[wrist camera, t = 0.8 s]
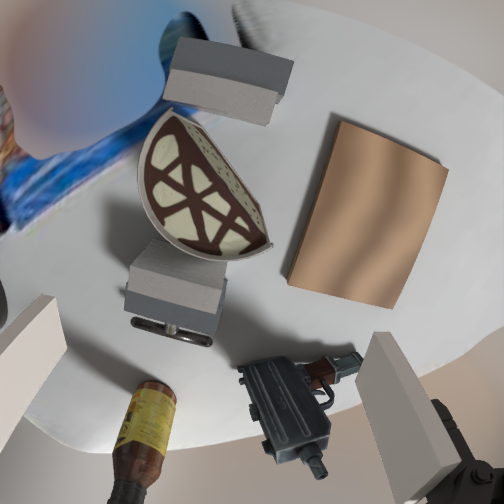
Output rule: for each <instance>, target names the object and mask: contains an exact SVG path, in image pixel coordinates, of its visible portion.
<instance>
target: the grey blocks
mask: <svg viewBox="0 0 504 504" xmlns="http://www.w3.org/2000/svg"><path fill="white" fill-rule="evenodd" d="M293 64H294V61H292V60H288V59H285V58H282V57H278V56H274V55H271V54H267V53H263V52H259V51H255V50H251V49H247V48H242V47H237V46H232V45H228V44H223V43H218V42H212V41H207V40H201V39H194V38H187V37H179V40H178V43H177V45H176V48H175V51H174V54H173V57H172V61H171V64H170V67H169V71H170V74H169V78H168V81H167V84H166V88H165V91H164V95H163V98H162V99H164V100H167V101H169V102H172V103H174V104H177V105H179V106H182V107H186V108H191V109H195V110H200V111H205V112H209V113H214V114H218V115H222V116H227V117H231V118H235V119H239V120H243V121H246V122H250V123H254V124H258V125H261V126H266V125H267V124H269V122H270V118H271V115H272V112H273V108H274V105H275V104H278V103H279V102H280V100H281V99H282V98H283V96H284V94H285V90H286V87H287V84H288V80H289V77H290V74H291V70H292V67H293ZM227 262H228V261H224V262H222V261H212V260H206V259H202V258H198V257H195V256H193V255H190V254H188V253H185V252H184V251H182V250H180V249H179V248H177V247H175V246H174V245H172V244H171V243H168V242H164V241H160V240H156V239H153V240H152V241H151V242H150V243H149V244H148V246H147V247H146V248H145V249H144V250H143V251H142V252H141V254H140V255H139V256H138V257H137V258H136V259H135V260H134V262H133V263H132V264H131V265H130V270H129V279H128V282H127V283H126V291H125V303H124V310H125V311H128V312H131V313H134V314H137V315H141V316H144V317H147V318H151V319H154V320H158V321H161V322H165V325H163V324H160V323H156V322H153V321H150V320H146V319H143V318H139V317H133V318H132V319H131V321H130V322H131V325H132V326H133V327H135V328H138V329H142V330H145V331H148V332H152V333H155V334H158V335H162V336H165V337H169V338H173V339H176V340H180V341H184V342H188V343H191V344H195V345H199V346H203V347H210V346H211V345H212V343H213V341H212V339H211V338H210V337H209V336H205V335H201V334H197V333H193V332H189V331H185V330H182V329H179V327H183V328H187V329H191V330H194V331H198V332H202V333H206V334H210V335H214V336H215V335H216V331H217V327H218V324H219V320H220V316H221V313H222V309H223V303H224V297H225V290H226V284H227V280H225V279H224V277H225V272H226V267H227Z"/></svg>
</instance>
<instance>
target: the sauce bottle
mask: <svg viewBox="0 0 504 504" xmlns="http://www.w3.org/2000/svg"><path fill="white" fill-rule="evenodd" d="M176 402H177V399H176V396H175V394H174V393H173V392H172V390H171V389H170V388H168V387H167V386H165V385H163V384H160V383H157V382H152V381H147V382H143V383H141V384H140V385H139V386H138V388H137V389H136V391H135V392H134V394H133V396H132V399H131V402H130V404H129V407H128V410H127V413H126V415H125V418H124V421H123V424H122V426H121V429H120V432H119V435H118V438H117V441H116V444H115V447H114V450H113V453H112V457H113V468H114V479H115V481H114V486H113V490H112V493H111V497H110V499H108V501H107V504H144V499H145V495H146V494H147V491H146V489H147V488H148V487H149V486H150V485H152V484H153V483H154V482H155V481H156V480H157V479H158V478H159V476H160V473H161V468H162V463H163V461H164V458H165V454H166V449H167V445H168V440H169V436H170V431H171V427H172V423H173V418H174V414H175V410H176V408H175V405H176Z"/></svg>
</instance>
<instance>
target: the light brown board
mask: <svg viewBox="0 0 504 504" xmlns="http://www.w3.org/2000/svg"><path fill="white" fill-rule="evenodd" d="M448 171H449V169H447V168H445V167H443V166H442V165H440V164H438V163H436V162H434V161H432V160H430V159H428V158H426V157H424V156H422V155H420V154H418V153H416V152H414V151H412V150H410V149H408V148H405V147H403V146H401V145H399V144H397V143H395V142H392V141H390V140H388V139H386V138H383V137H381V136H379V135H376V134H374V133H372V132H369V131H367V130H364V129H362V128H359V127H357V126H354V125H352V124H349V123H346V122H344V121H339V122H338V125H337V128H336V132H335V135H334V138H333V142H332V145H331V148H330V151H329V155H328V158H327V161H326V164H325V167H324V171H323V174H322V177H321V180H320V183H319V186H318V189H317V192H316V195H315V198H314V202H313V205H312V208H311V211H310V214H309V217H308V220H307V223H306V226H305V228H304V231H303V234H302V237H301V240H300V243H299V246H298V249H297V252H296V255H295V258H294V260H293V263H292V266H291V269H290V272H289V275H288V277H287V284H288V285H290V286H294V287H298V288H303V289H307V290H311V291H315V292H319V293H323V294H328V295H332V296H336V297H340V298H344V299H349V300H353V301H357V302H362V303H366V304H370V305H375V306H379V307H383V308H388V309H392V310H393V308H394V306H395V304H396V302H397V300H398V298H399V296H400V293H401V291H402V289H403V287H404V285H405V283H406V281H407V279H408V276H409V274H410V272H411V270H412V268H413V265H414V263H415V261H416V258H417V256H418V254H419V251H420V249H421V246H422V244H423V242H424V239H425V237H426V234H427V232H428V229H429V226H430V224H431V221H432V218H433V216H434V213H435V210H436V207H437V205H438V202H439V199H440V196H441V193H442V190H443V187H444V184H445V181H446V178H447V174H448Z"/></svg>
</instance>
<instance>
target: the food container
mask: <svg viewBox="0 0 504 504" xmlns="http://www.w3.org/2000/svg"><path fill="white" fill-rule="evenodd" d="M173 109H174V108H173V107H171V108H169V109H168V110H167V111H166V112H165V113H164V114H163V115H162V116H161V117H160V118H159V119H158V120H157V122H156V123H155V124H154V125H153V127H152V128H151V130H150V132H149V133H148V135H147V137H146V139H145V141H144V144H143V146H142V149H141V152H140V156H139V161H138V169H137V182H138V190H139V195H140V198H141V202H142V205H143V207H144V210H145V212H146V214H147V216H148V218H149V219H150V221H151V222H152V224H153V225H154V227H155V228H156V229H157V230H158V232H159V233H160V234H161V235H162V236H163V237H164V238H165V239H166V240H168V241H169V242H170V243H171V244H172V245H174V246H175V247H177V248H179V249H180V250H182V251H184V252H185V253H188V254H190V255H193V256H195V257H198V258H202V259H206V260H212V261H222V262H224V261H238V260H243V259H248V258H251V257H254V256H257V255H259V254H262V253H264V252H266V251H267V250H269V249H271V248H273V245H274V244H273V242H272V243H270V240H269V237H268V233H267V229H266V226H265V222H264V218H263V215H262V211H261V208H260V204H259V203H258V202H257V200H256V199H255V197H254V196H253V195H252V193H251V192H250V190H249V189H248V188H247V186H246V185H245V184H244V182H243V181H242V179H241V178H240V177H239V175H238V174H237V172H236V171H235V170H234V168H233V167H232V166H231V164H230V163H229V162H228V160H227V159H226V157H225V156H224V155H223V153H222V152H221V151H220V149H219V148H218V147H217V145H216V144H215V143H214V141H213V140H212V139H211V137H210V136H209V135H208V133H207V132H206V131H205V129H204V128H203V127H202V126H200V125H199V124H197V123H195V122H193V121H191V120H189V119H187V118H185V117H183V116H181V115H179V114H177V113H175V112H173V111H172V110H173Z"/></svg>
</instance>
